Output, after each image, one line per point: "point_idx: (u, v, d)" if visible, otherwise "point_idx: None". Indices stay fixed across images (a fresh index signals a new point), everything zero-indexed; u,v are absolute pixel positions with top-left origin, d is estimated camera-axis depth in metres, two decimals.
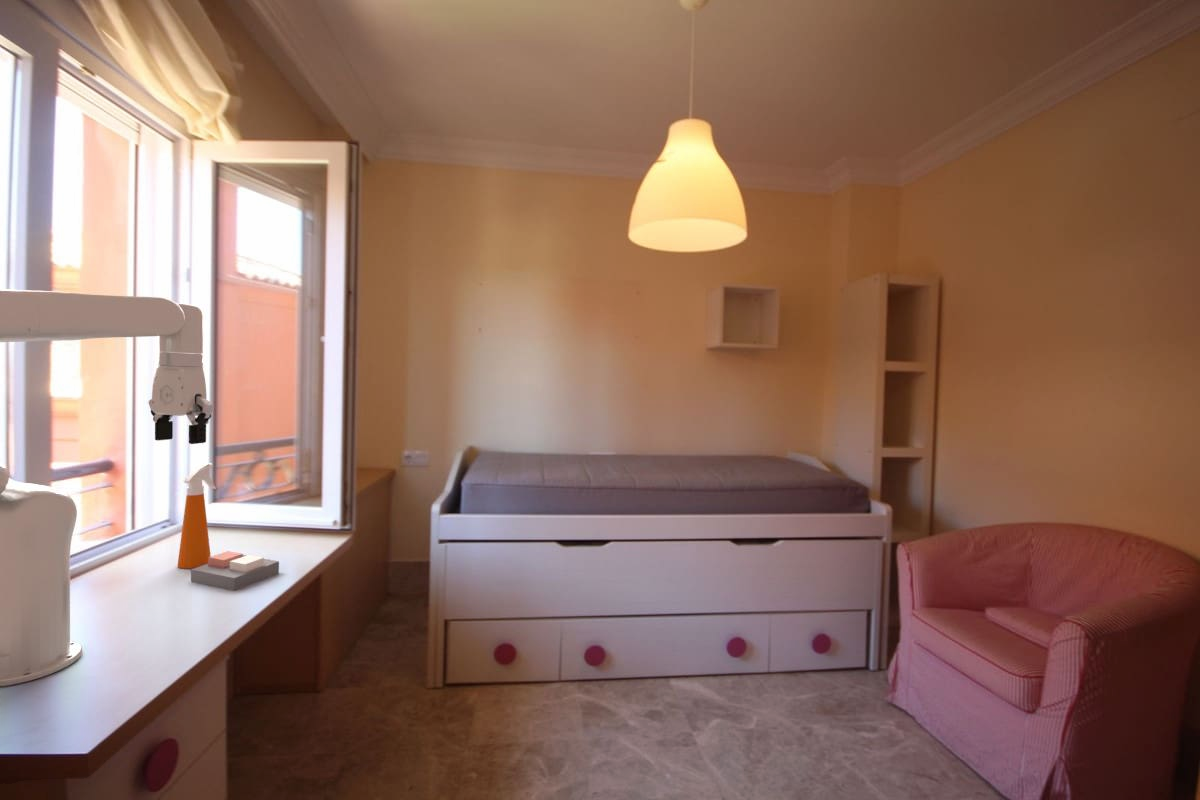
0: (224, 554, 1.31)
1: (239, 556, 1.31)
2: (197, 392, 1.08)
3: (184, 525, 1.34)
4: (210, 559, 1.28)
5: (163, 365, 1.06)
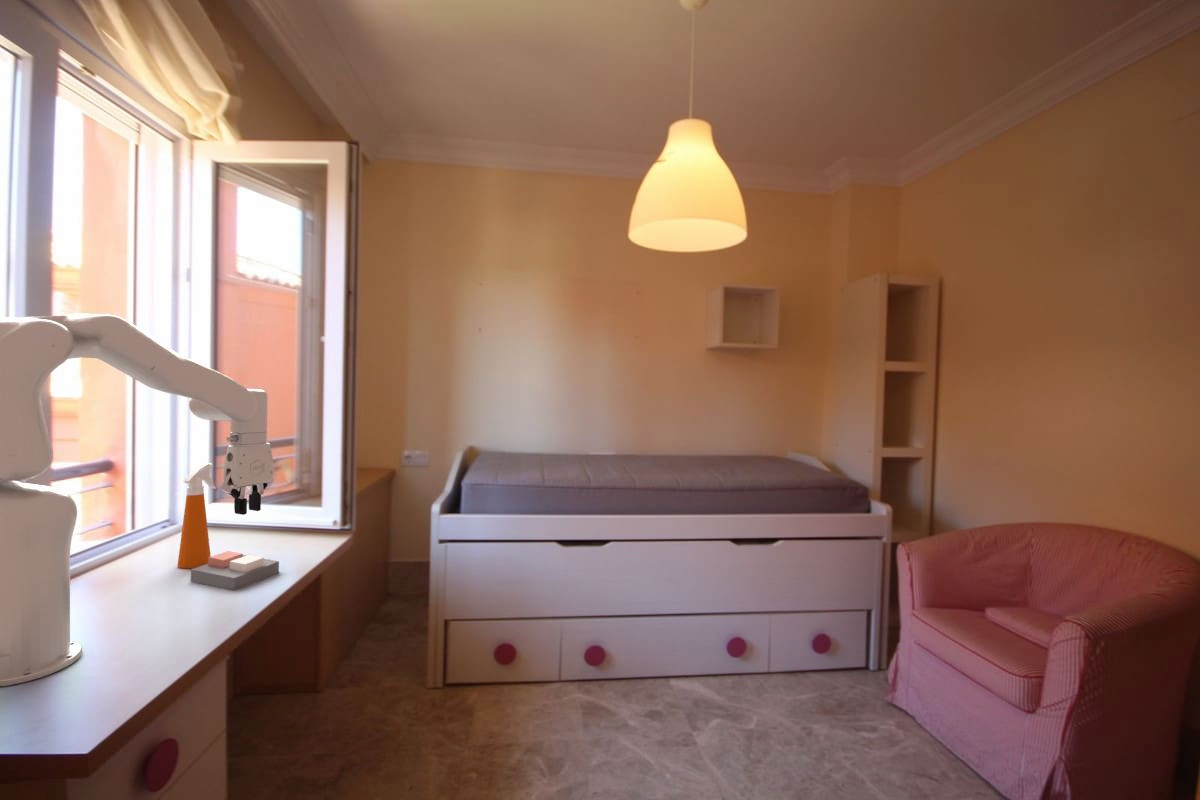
0: (224, 554, 1.31)
1: (239, 556, 1.31)
2: None
3: (184, 525, 1.34)
4: (210, 559, 1.28)
5: (261, 443, 1.26)
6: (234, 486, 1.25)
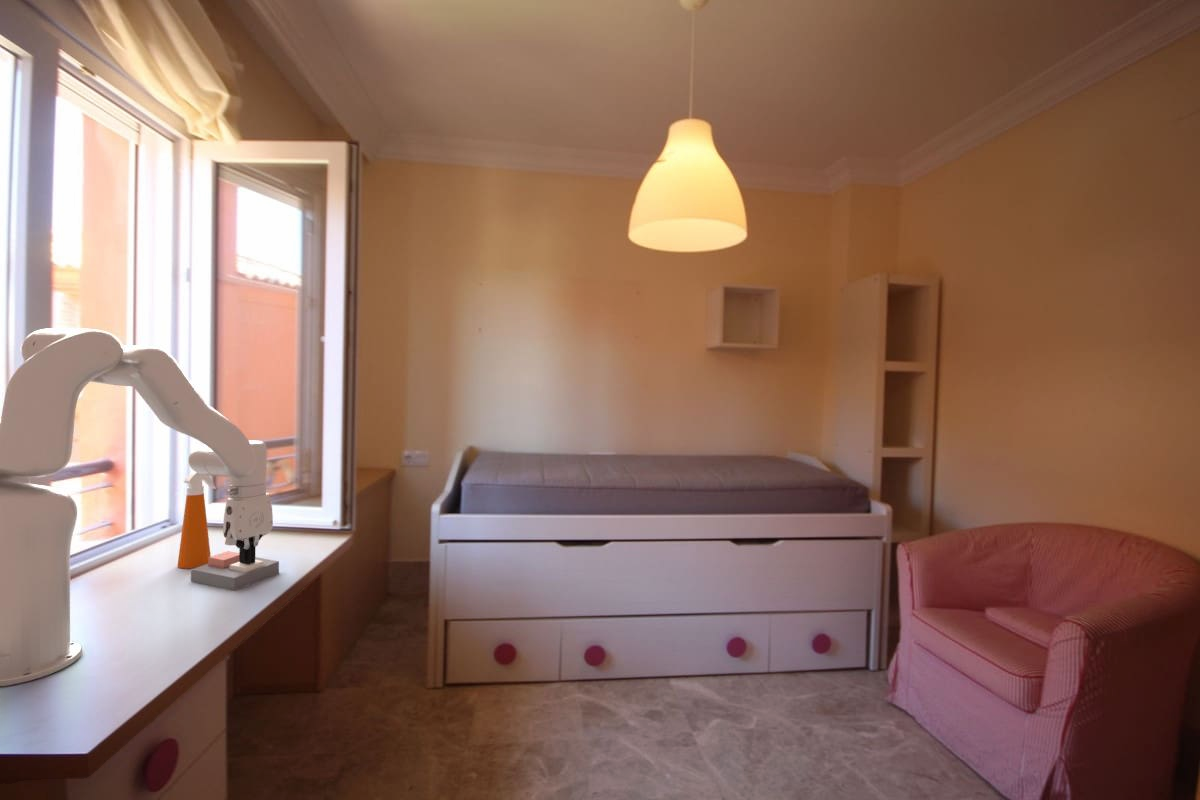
0: (224, 554, 1.31)
1: None
2: None
3: (184, 525, 1.34)
4: (210, 559, 1.28)
5: (261, 495, 1.27)
6: None
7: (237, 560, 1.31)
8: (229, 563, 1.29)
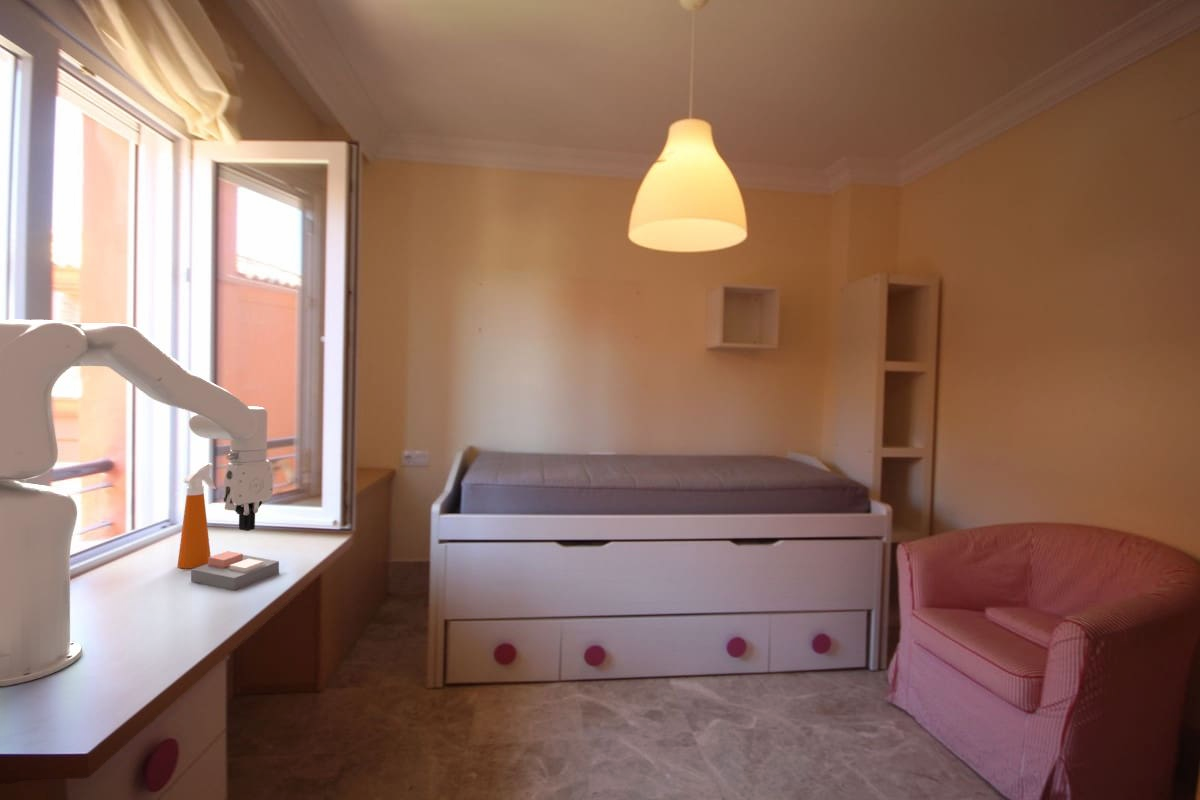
0: (224, 554, 1.31)
1: (239, 556, 1.31)
2: None
3: (184, 525, 1.34)
4: (210, 559, 1.28)
5: (261, 460, 1.27)
6: (237, 504, 1.26)
7: (237, 560, 1.31)
8: (229, 563, 1.29)
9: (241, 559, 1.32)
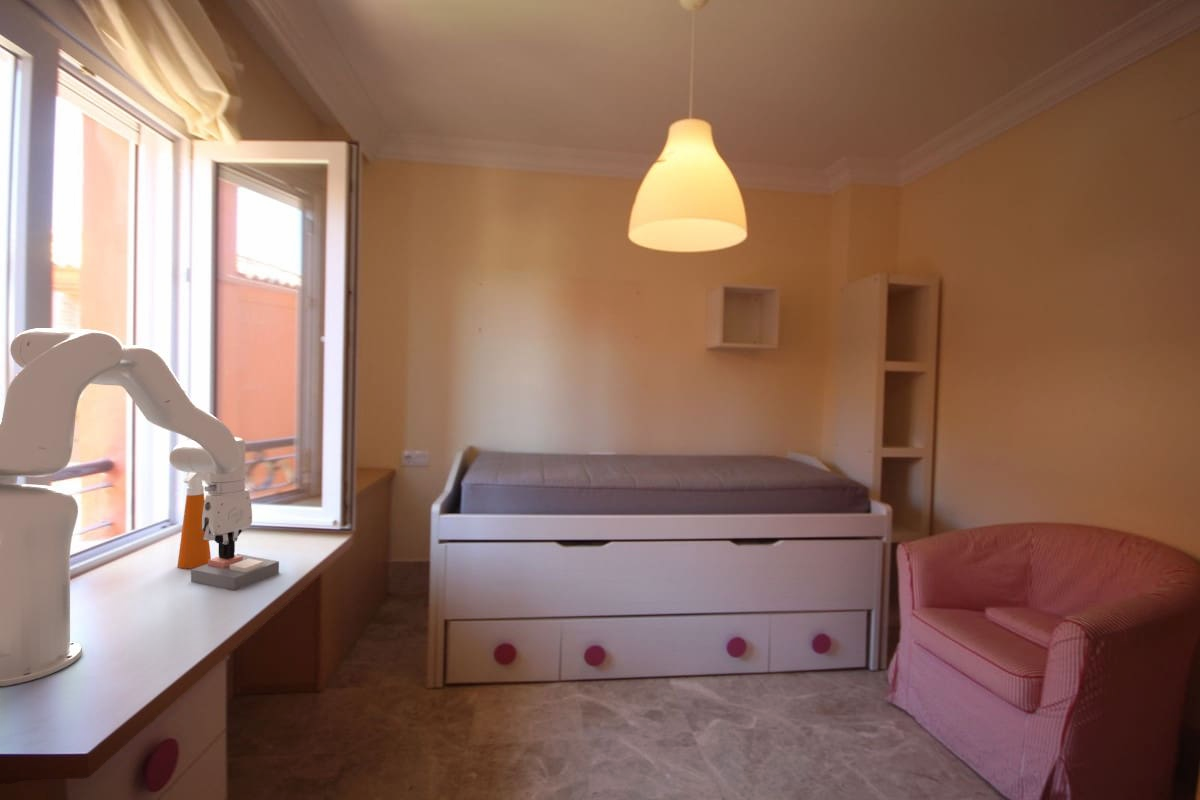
0: None
1: (239, 558, 1.31)
2: None
3: (184, 525, 1.34)
4: (210, 562, 1.28)
5: (239, 491, 1.29)
6: None
7: None
8: (229, 566, 1.29)
9: None
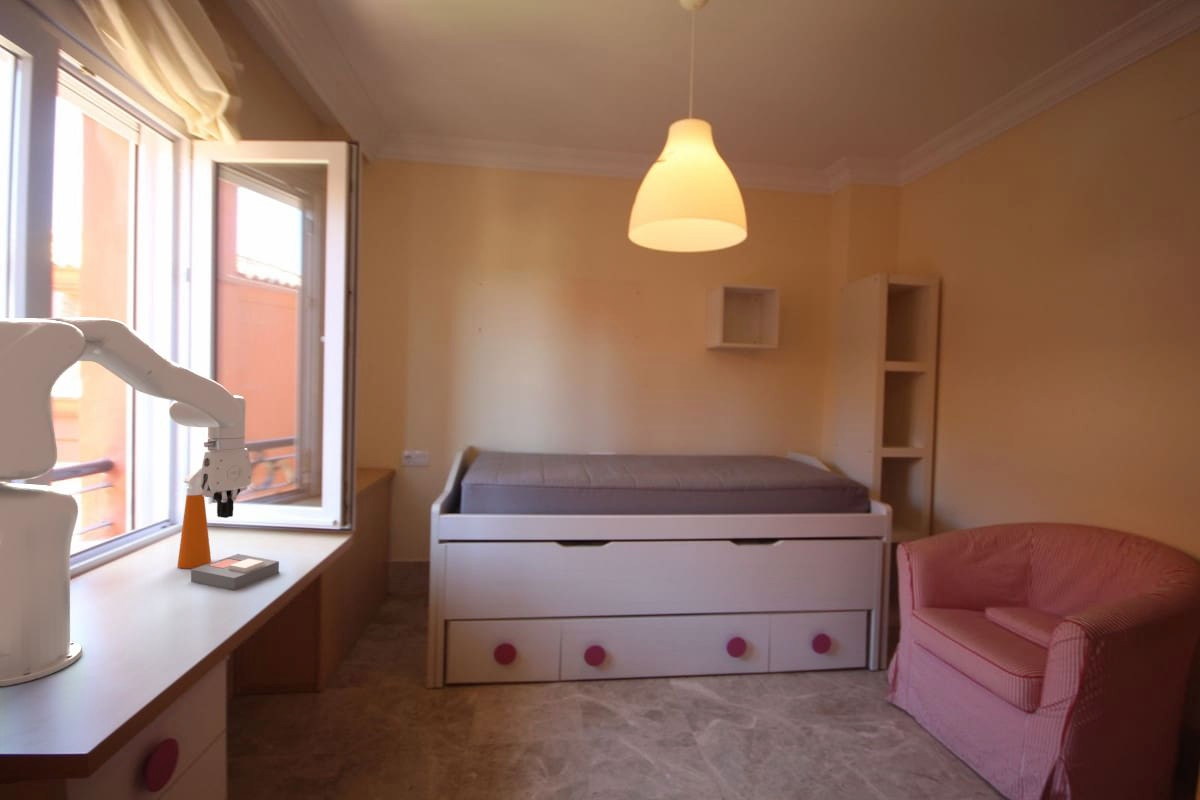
0: (224, 562, 1.31)
1: None
2: None
3: (184, 525, 1.34)
4: None
5: (239, 448, 1.28)
6: None
7: None
8: None
9: None
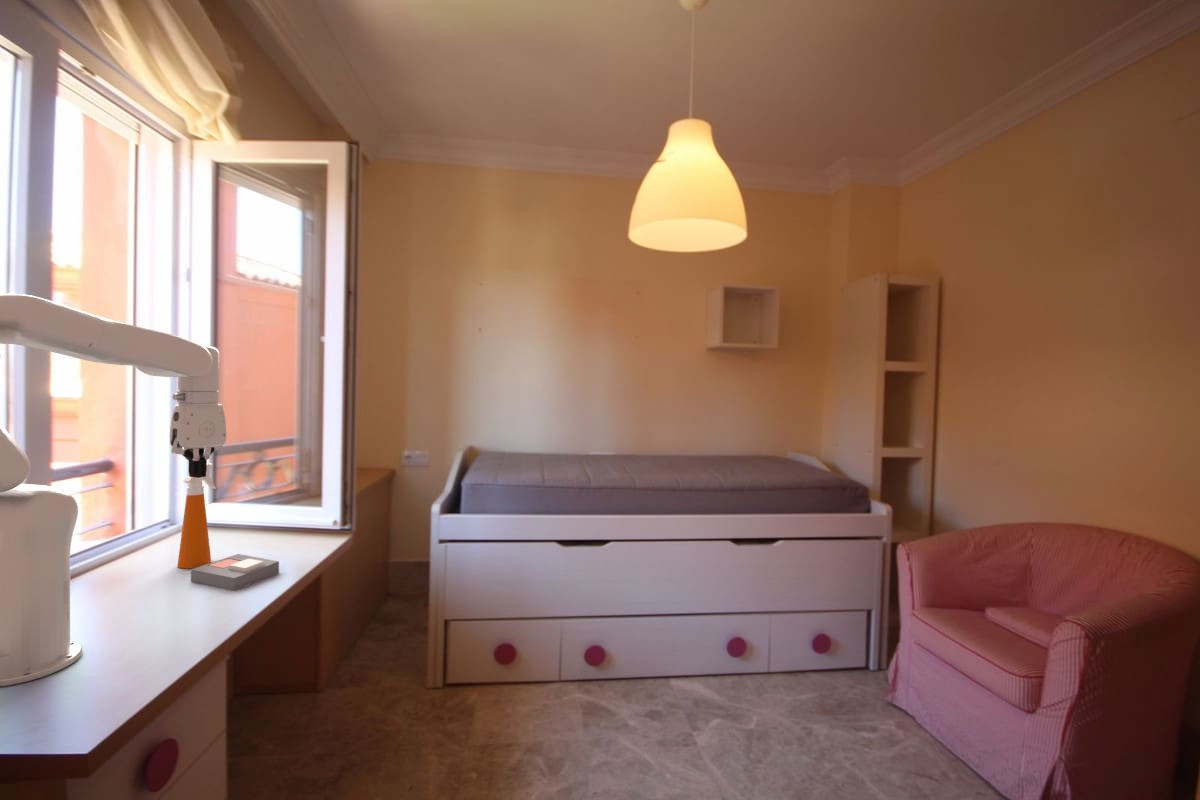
0: (224, 562, 1.31)
1: None
2: None
3: (184, 525, 1.34)
4: None
5: (212, 403, 1.19)
6: (185, 448, 1.18)
7: None
8: None
9: None
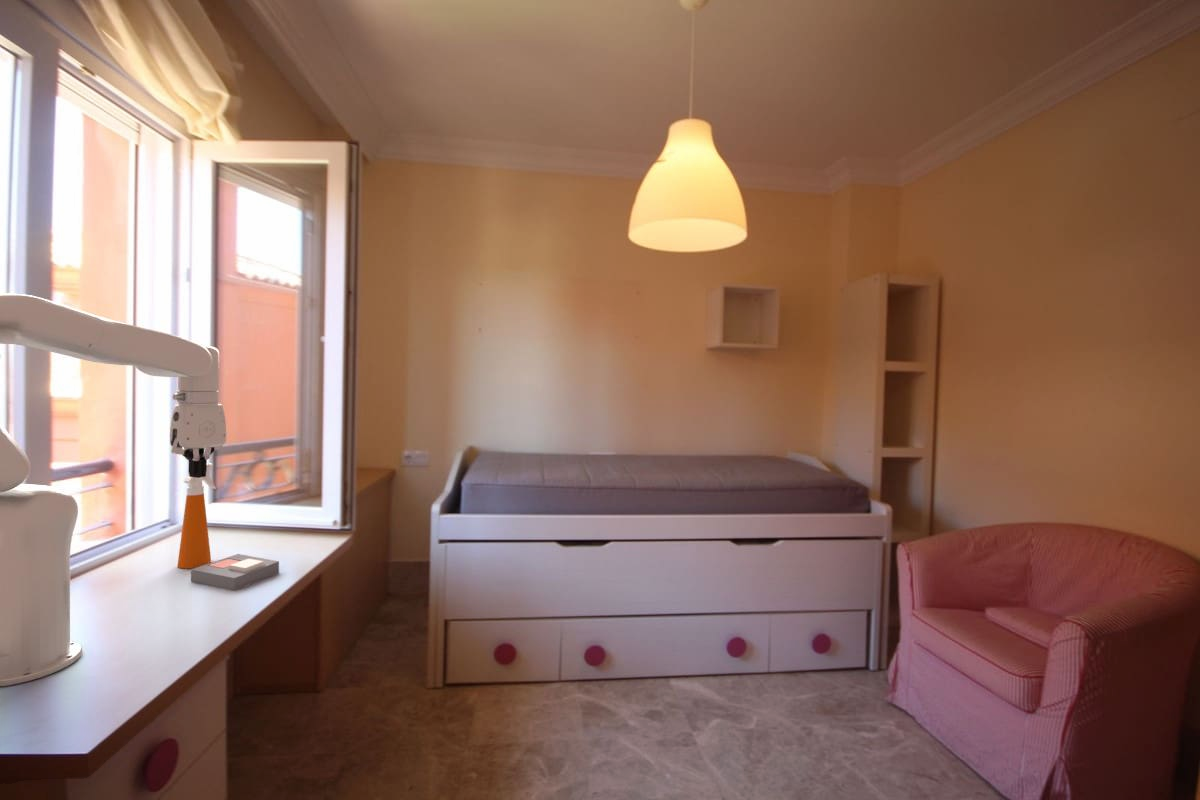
0: (224, 562, 1.31)
1: None
2: None
3: (184, 525, 1.34)
4: None
5: (212, 403, 1.19)
6: (185, 448, 1.18)
7: None
8: None
9: None
